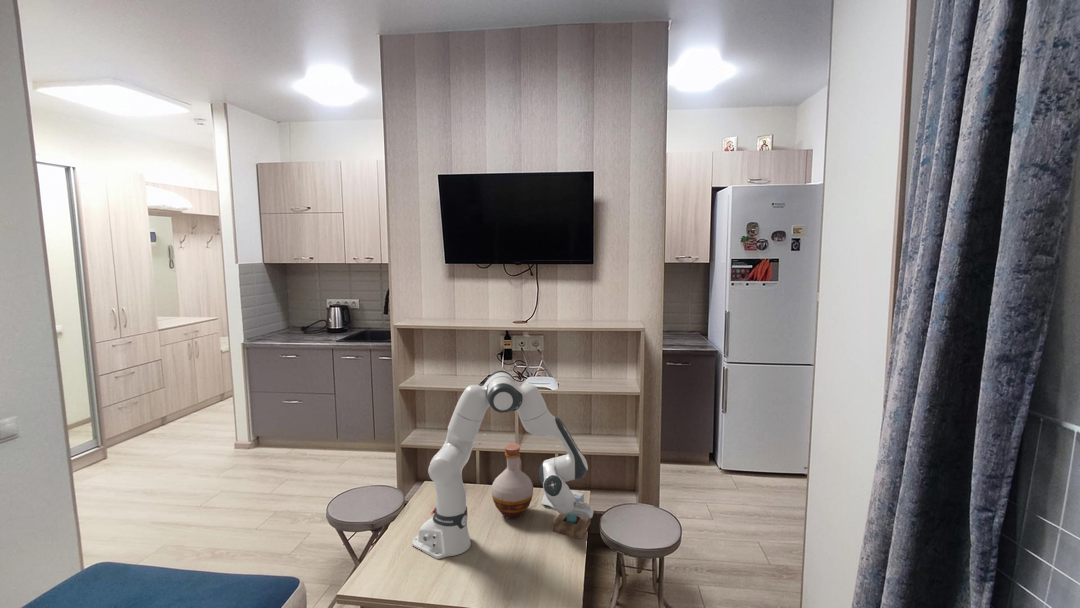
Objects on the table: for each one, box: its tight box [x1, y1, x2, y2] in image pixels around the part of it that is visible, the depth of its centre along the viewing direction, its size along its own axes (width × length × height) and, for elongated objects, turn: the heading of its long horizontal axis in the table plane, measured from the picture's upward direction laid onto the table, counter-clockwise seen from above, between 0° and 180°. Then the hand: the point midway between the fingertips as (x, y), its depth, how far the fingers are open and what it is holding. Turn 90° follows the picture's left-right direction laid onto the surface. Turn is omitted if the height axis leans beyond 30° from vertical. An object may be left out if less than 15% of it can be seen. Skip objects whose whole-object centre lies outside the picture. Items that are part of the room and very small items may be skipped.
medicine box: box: [571, 490, 585, 503], centre depth 203 cm, size 8×4×9 cm, turn 58°
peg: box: [567, 513, 577, 524], centre depth 191 cm, size 4×4×8 cm
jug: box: [491, 442, 534, 520], centre depth 202 cm, size 20×18×30 cm
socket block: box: [552, 513, 592, 539], centre depth 192 cm, size 12×12×4 cm
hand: (572, 513), depth 192 cm, fingers closed on peg, 4 cm apart
